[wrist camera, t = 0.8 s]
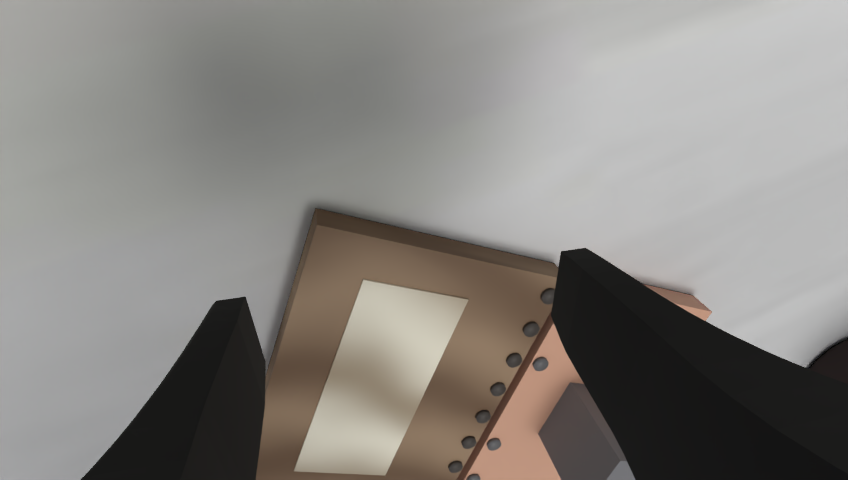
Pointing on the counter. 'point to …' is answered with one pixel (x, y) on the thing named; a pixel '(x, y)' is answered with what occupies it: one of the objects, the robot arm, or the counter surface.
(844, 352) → the bottle
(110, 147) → the counter surface
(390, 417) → the board
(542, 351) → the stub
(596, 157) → the counter surface
